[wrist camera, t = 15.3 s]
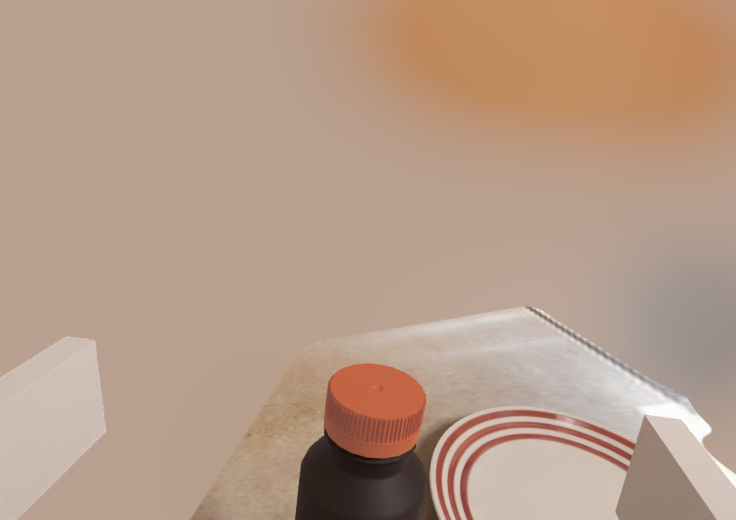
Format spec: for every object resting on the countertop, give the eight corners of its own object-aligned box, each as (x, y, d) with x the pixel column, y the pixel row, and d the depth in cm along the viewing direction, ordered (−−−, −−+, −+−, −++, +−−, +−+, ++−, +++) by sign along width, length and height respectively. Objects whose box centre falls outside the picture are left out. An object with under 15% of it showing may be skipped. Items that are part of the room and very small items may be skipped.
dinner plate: (775, 833, 25) (799, 796, 24) (367, 537, 40) (371, 506, 39) (746, 516, 47) (759, 490, 46) (489, 399, 62) (494, 377, 60)
